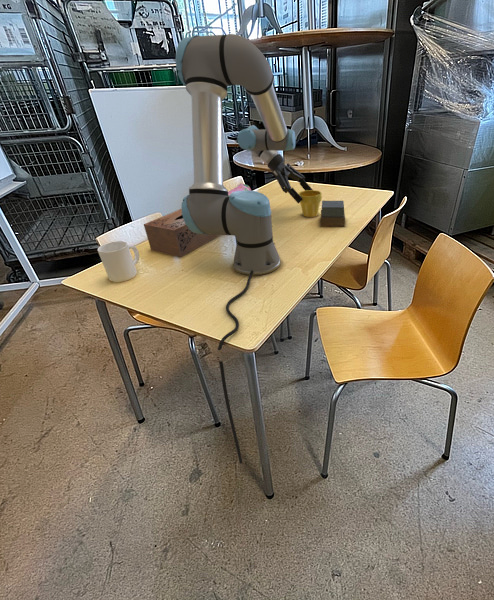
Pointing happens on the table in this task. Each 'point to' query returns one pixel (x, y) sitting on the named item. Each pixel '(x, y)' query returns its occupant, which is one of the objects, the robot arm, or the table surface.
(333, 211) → the top block
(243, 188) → the pencil case
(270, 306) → the table surface
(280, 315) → the table surface
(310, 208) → the flower pot
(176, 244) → the tissue box cover
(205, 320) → the table surface
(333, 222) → the base block
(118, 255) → the mug
